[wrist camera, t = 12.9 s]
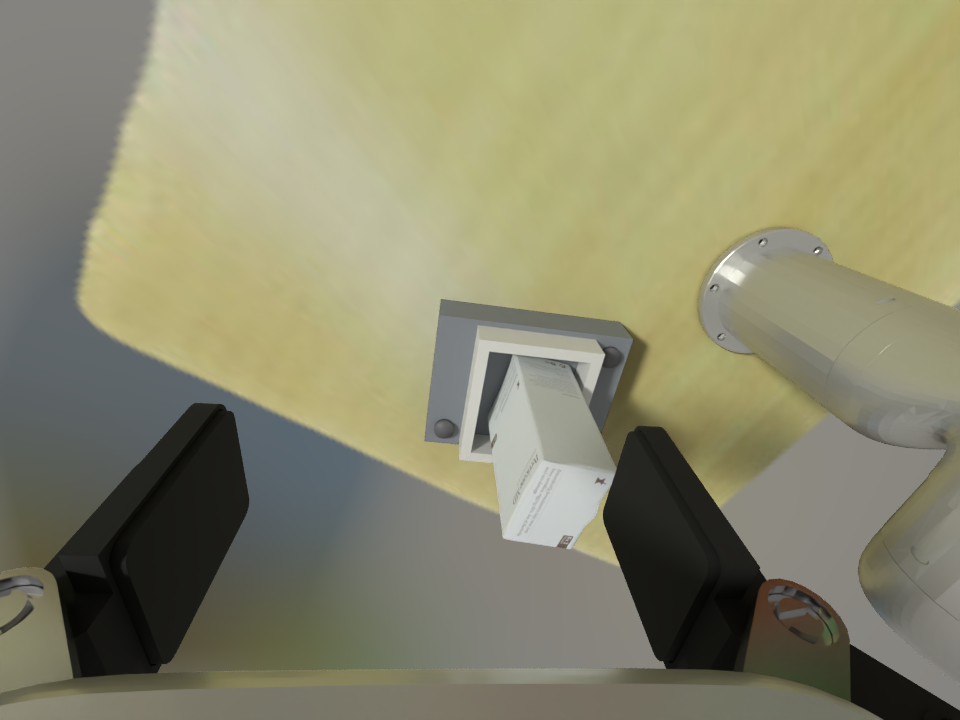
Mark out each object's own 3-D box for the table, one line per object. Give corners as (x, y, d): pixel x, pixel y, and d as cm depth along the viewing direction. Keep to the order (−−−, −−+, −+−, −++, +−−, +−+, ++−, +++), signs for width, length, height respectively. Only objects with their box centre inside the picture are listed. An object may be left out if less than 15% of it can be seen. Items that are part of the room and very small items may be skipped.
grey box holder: (619, 322, 45) (645, 354, 39) (583, 433, 52) (601, 476, 46) (440, 299, 43) (438, 329, 37) (426, 418, 50) (422, 460, 44)
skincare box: (513, 347, 42) (540, 452, 29) (573, 364, 43) (625, 471, 30) (485, 419, 45) (497, 541, 32) (541, 433, 46) (574, 556, 33)
